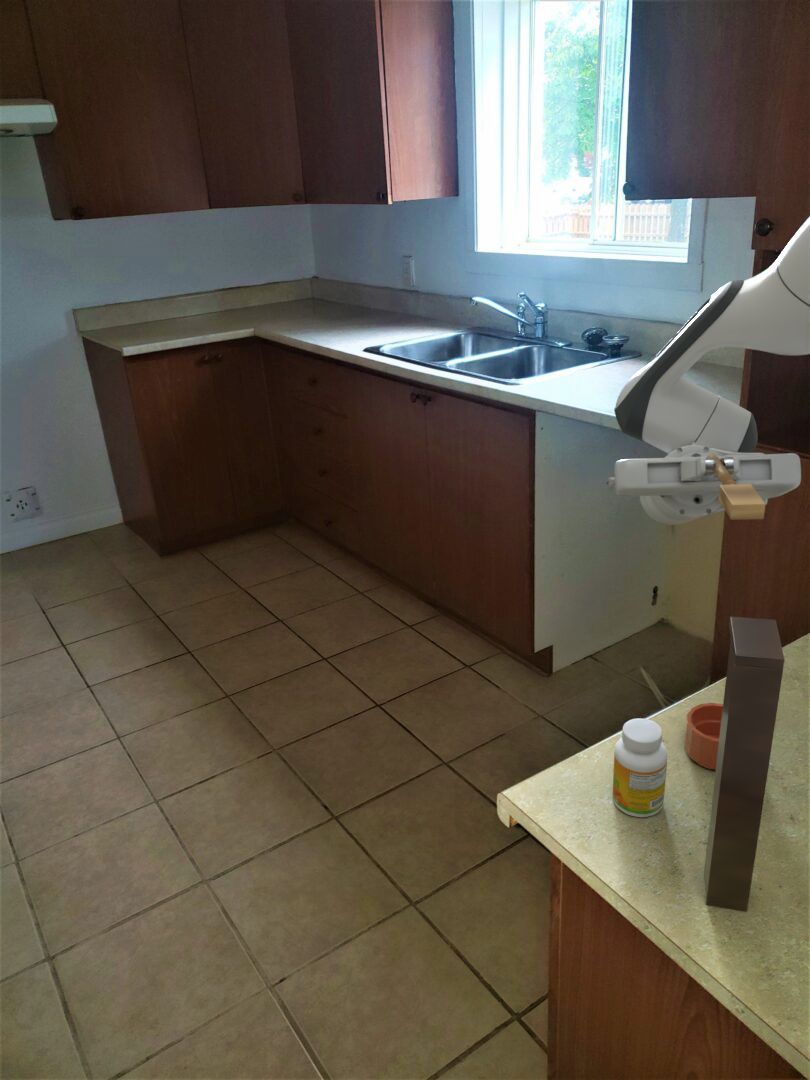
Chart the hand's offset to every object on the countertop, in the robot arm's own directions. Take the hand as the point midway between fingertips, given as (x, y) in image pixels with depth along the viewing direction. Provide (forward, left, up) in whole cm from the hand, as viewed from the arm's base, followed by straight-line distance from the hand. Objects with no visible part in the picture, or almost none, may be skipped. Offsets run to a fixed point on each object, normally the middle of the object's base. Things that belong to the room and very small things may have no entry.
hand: (719, 464), depth 87 cm
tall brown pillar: (-2, +27, -33) cm, 43 cm away
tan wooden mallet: (-1, +4, -1) cm, 4 cm away
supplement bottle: (+6, +16, -33) cm, 38 cm away
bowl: (-2, +6, -33) cm, 34 cm away
